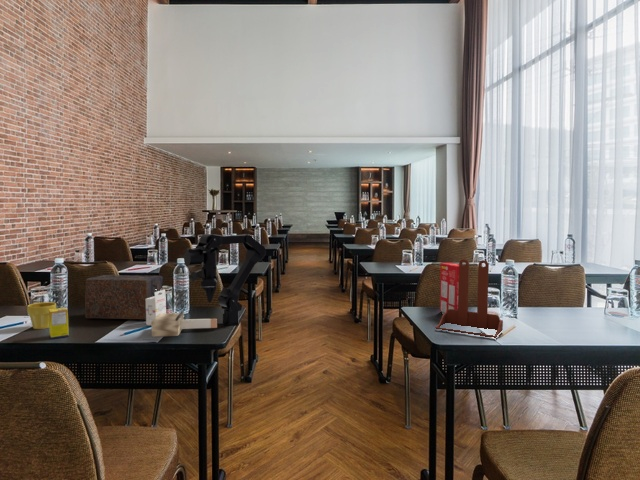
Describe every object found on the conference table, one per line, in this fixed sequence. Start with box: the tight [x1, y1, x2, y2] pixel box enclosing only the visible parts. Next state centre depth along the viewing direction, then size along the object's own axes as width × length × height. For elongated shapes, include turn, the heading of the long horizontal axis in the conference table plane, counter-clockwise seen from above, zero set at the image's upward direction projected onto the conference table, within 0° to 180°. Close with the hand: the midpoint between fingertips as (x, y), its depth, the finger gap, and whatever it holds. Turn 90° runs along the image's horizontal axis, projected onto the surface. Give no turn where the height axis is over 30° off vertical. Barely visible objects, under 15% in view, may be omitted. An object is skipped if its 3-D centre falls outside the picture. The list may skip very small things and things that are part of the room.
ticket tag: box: [181, 318, 218, 330], centre depth 179 cm, size 16×1×4 cm, turn 99°
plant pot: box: [26, 301, 57, 330], centre depth 183 cm, size 10×10×10 cm
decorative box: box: [84, 274, 164, 321], centre depth 203 cm, size 31×20×20 cm
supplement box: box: [48, 306, 70, 340], centre depth 169 cm, size 6×6×11 cm
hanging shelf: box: [434, 258, 504, 338], centre depth 180 cm, size 24×13×30 cm, turn 56°
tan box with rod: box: [151, 310, 185, 338], centre depth 178 cm, size 10×14×7 cm
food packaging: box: [439, 262, 459, 313], centre depth 209 cm, size 15×5×25 cm, turn 13°
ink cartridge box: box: [145, 288, 167, 326], centre depth 191 cm, size 9×5×15 cm, turn 168°
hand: (210, 300), depth 183 cm, fingers open, 9 cm apart
